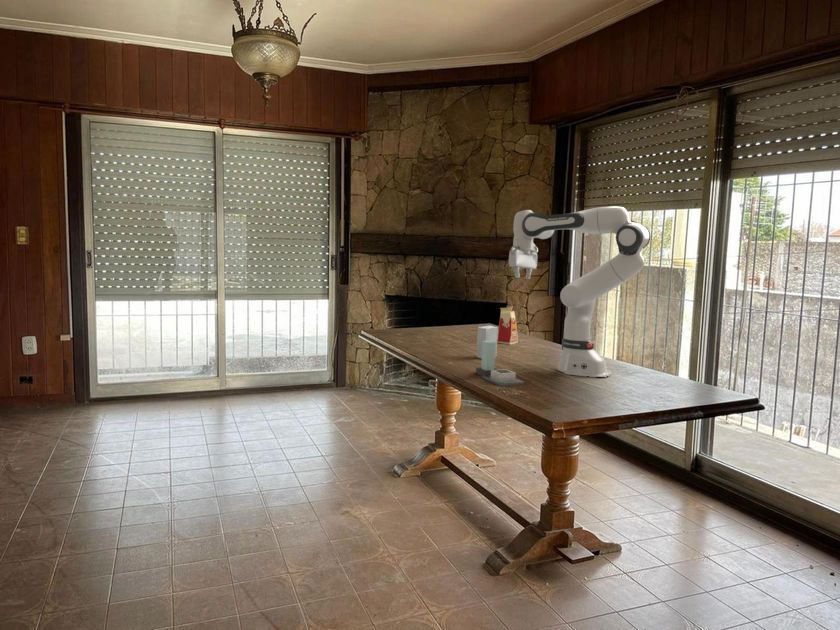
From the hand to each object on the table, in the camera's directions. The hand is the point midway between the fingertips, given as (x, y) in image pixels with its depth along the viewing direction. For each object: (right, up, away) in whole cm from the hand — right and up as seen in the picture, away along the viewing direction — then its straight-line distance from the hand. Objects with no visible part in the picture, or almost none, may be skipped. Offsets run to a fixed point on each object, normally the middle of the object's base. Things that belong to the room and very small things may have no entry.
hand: (522, 278), depth 283 cm
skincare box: (-14, -37, +18) cm, 43 cm away
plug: (-18, -41, -18) cm, 48 cm away
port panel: (-13, -43, -29) cm, 53 cm away
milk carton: (+1, -32, +61) cm, 69 cm away
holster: (-18, -41, -18) cm, 48 cm away
